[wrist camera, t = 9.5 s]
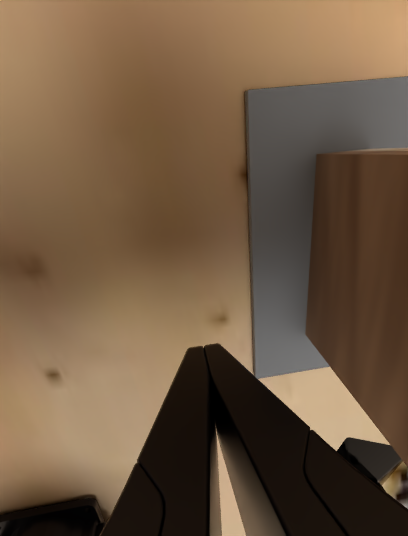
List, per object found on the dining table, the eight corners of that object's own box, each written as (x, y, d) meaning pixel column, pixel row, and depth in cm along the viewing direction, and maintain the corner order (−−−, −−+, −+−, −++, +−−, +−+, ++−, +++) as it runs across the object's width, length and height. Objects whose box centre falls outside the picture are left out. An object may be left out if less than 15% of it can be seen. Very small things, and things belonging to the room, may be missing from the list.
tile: (305, 334, 15) (408, 468, 9) (316, 153, 12) (501, 155, 5) (347, 328, 15) (479, 453, 9) (371, 148, 12) (613, 143, 5)
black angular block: (344, 415, 19) (398, 494, 15) (426, 431, 21) (495, 505, 17) (263, 529, 24) (286, 618, 19) (338, 534, 26) (375, 615, 21)
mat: (253, 373, 16) (255, 379, 16) (245, 92, 11) (247, 89, 11) (475, 336, 17) (481, 340, 17) (566, 64, 12) (579, 62, 12)
